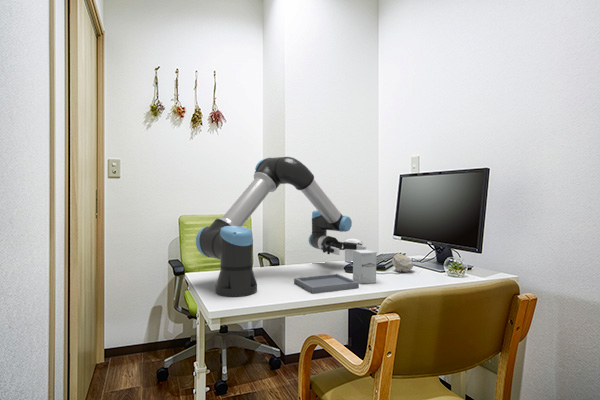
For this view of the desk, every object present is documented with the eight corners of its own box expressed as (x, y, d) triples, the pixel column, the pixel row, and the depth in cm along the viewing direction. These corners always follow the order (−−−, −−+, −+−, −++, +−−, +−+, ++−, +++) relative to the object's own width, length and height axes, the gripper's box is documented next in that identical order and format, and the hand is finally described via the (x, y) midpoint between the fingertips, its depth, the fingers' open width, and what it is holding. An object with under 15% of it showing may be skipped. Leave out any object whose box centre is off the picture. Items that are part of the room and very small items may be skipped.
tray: (312, 293, 136) (312, 287, 136) (294, 283, 150) (294, 278, 150) (358, 288, 144) (358, 282, 144) (337, 278, 159) (337, 273, 159)
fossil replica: (409, 268, 182) (388, 270, 181) (407, 251, 182) (387, 253, 182) (418, 272, 170) (396, 274, 169) (416, 253, 170) (394, 255, 170)
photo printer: (343, 261, 198) (343, 238, 197) (349, 260, 200) (349, 237, 200) (358, 264, 190) (358, 240, 189) (363, 263, 192) (364, 239, 192)
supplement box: (359, 284, 150) (360, 252, 150) (352, 279, 157) (352, 249, 157) (376, 283, 152) (377, 251, 152) (368, 278, 159) (368, 249, 159)
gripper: (350, 249, 188) (375, 257, 169) (305, 253, 178) (327, 261, 159) (350, 234, 188) (376, 240, 169) (305, 237, 178) (327, 244, 158)
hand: (352, 250), depth 164 cm, fingers open, 13 cm apart
